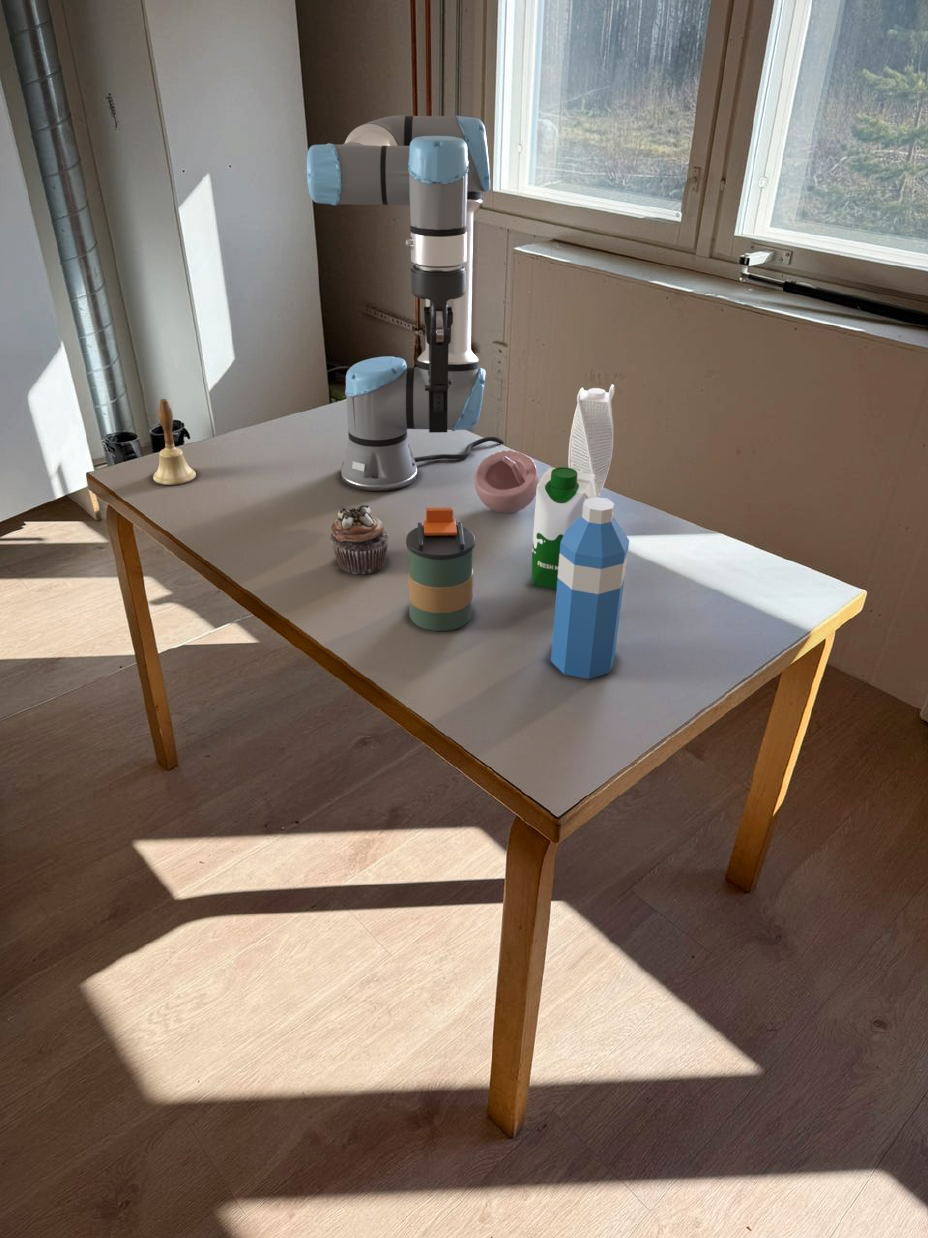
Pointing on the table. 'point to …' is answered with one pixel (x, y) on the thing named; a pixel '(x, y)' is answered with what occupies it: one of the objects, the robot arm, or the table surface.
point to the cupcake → (359, 541)
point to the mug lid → (440, 543)
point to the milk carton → (556, 518)
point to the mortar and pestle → (506, 481)
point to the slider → (439, 522)
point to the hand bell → (171, 453)
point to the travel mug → (440, 591)
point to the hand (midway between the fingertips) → (438, 430)
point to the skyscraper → (592, 435)
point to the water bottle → (589, 592)
